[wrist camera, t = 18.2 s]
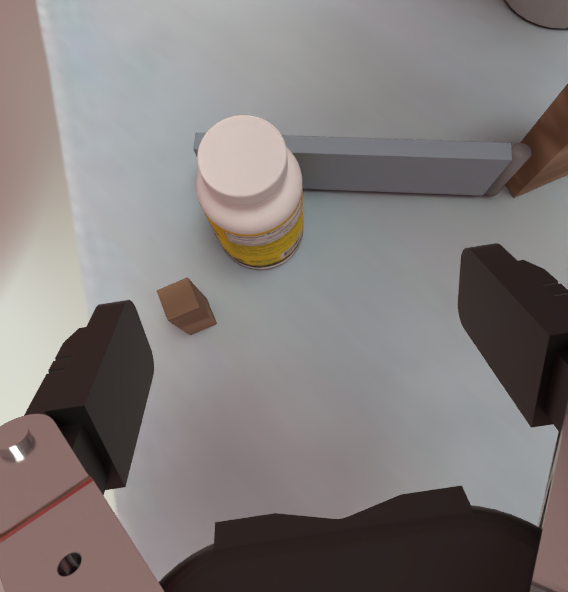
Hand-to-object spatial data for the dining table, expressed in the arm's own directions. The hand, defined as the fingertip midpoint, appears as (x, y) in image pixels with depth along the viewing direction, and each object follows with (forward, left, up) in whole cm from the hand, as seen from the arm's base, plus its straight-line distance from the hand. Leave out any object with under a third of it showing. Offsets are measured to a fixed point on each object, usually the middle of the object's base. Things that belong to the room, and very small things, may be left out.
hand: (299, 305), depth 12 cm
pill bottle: (-11, +1, -22) cm, 24 cm away
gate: (-12, +9, -21) cm, 25 cm away
